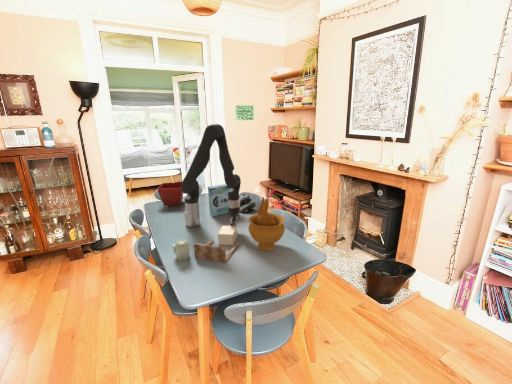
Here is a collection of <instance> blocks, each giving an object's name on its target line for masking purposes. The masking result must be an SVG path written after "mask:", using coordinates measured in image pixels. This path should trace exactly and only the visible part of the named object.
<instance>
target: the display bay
mask: <svg viewBox="0 0 512 384" xmlns="http://www.w3.org/2000/svg"><path fill="white" fill-rule="evenodd" d="M213 243H214V240H213V239H210V240H209V241H208V242H207V243H206V244H204V243H200V242H198V243H197V242H195V243H193V250H194V258H198V259H203V260H207V261H215V262H220V263H226V262H227V261H228V259H229V258H230V257H231V256H232V254H233V253H234V252H235V251H236V250H237V248H238V247H239V244H238V243H235V244H233V246H232V248H231V249H230V250H229V251H228V252H227V254H226V247H223V246H216V245H212V244H213Z"/></svg>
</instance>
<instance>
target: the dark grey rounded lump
mask: <svg viewBox="0 0 512 384" xmlns="http://www.w3.org/2000/svg"><path fill="white" fill-rule="evenodd" d="M239 201H240V213H241V214H245V213H247V212H249V211H250V210H252V209H254V208H255V207H257V206H256V205H257V204H256V202H255V201H253V200H252V198H251V197H250V195H248V194H247V195H246V194H244V193H243V194H242V195H241V196H239Z"/></svg>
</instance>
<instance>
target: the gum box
mask: <svg viewBox="0 0 512 384" xmlns="http://www.w3.org/2000/svg"><path fill="white" fill-rule="evenodd" d="M229 190H230V187H228V186H227V185H226V183H224V184H219V185H212V186H207V192H208V206H209V207H208V209H209V216H211V217H212V218H213V217H216V216H220V215H225V214H229V213H228V191H229Z"/></svg>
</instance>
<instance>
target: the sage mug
mask: <svg viewBox="0 0 512 384" xmlns="http://www.w3.org/2000/svg"><path fill="white" fill-rule="evenodd" d="M172 249H173V254H175V256H176V260H177V261H180V262H183V261H186V260H188V259H190V258H191V253H190V243H189V240H188V239H179V240H176V241H175V242H174V244H173V245H172Z"/></svg>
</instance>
